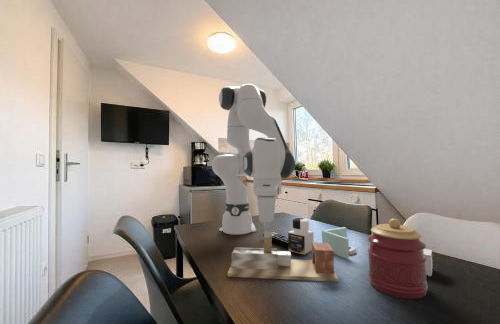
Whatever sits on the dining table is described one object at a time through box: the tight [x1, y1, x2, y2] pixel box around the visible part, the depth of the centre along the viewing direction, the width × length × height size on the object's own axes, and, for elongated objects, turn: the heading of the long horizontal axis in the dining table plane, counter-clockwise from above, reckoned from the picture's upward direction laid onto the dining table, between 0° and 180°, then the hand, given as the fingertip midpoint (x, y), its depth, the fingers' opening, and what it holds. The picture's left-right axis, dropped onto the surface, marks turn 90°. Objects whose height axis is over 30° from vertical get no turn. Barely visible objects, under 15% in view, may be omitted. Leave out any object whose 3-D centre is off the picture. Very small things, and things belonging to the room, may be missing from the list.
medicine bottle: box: [287, 217, 315, 255], centre depth 87 cm, size 7×7×12 cm
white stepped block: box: [232, 232, 292, 266], centre depth 71 cm, size 18×3×9 cm, turn 83°
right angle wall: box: [321, 226, 356, 260], centre depth 86 cm, size 12×12×8 cm
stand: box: [227, 242, 339, 283], centre depth 70 cm, size 31×12×8 cm, turn 83°
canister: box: [367, 218, 428, 300], centre depth 60 cm, size 13×13×18 cm
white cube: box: [423, 248, 434, 277], centre depth 69 cm, size 6×6×6 cm
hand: (268, 232), depth 71 cm, fingers open, 8 cm apart
